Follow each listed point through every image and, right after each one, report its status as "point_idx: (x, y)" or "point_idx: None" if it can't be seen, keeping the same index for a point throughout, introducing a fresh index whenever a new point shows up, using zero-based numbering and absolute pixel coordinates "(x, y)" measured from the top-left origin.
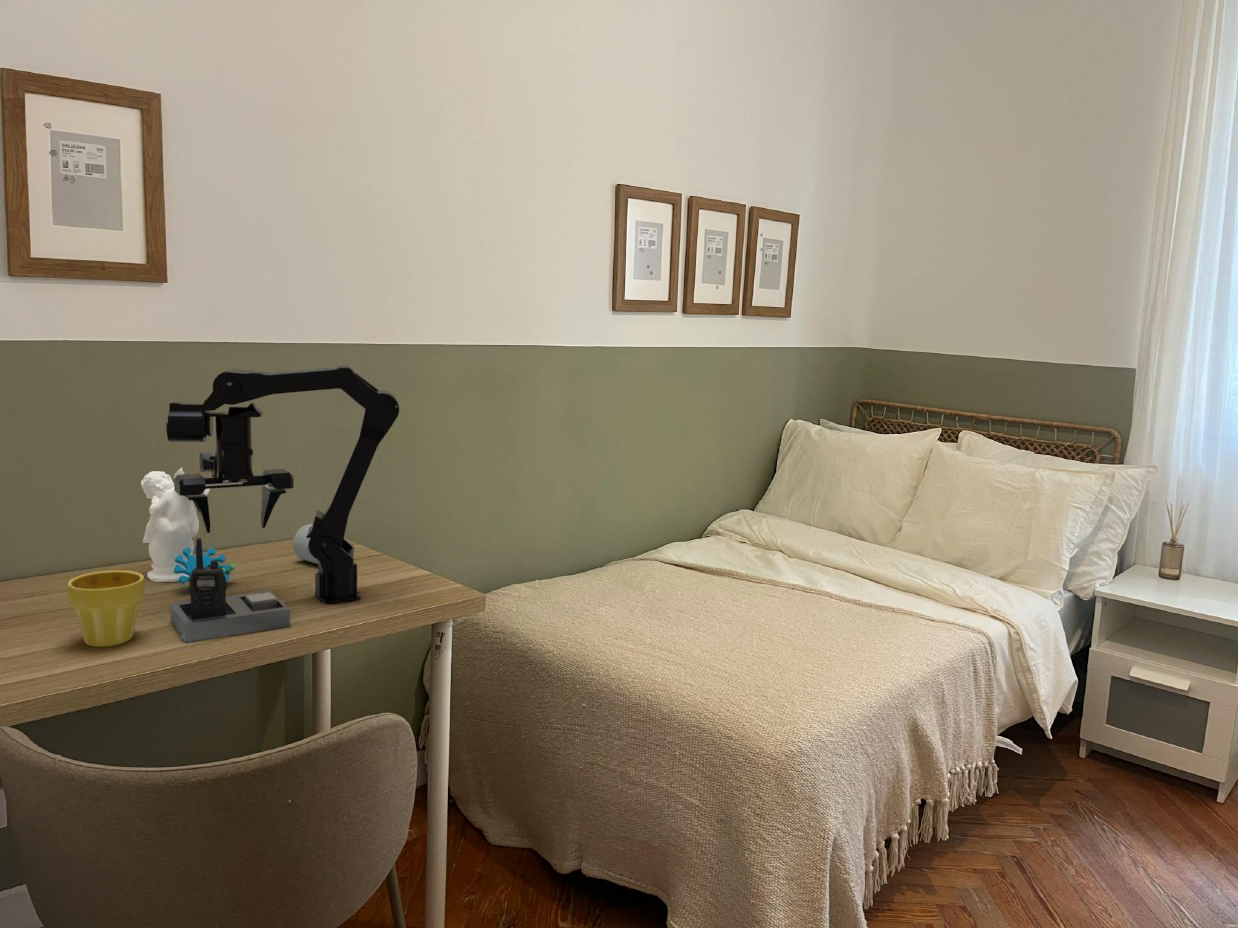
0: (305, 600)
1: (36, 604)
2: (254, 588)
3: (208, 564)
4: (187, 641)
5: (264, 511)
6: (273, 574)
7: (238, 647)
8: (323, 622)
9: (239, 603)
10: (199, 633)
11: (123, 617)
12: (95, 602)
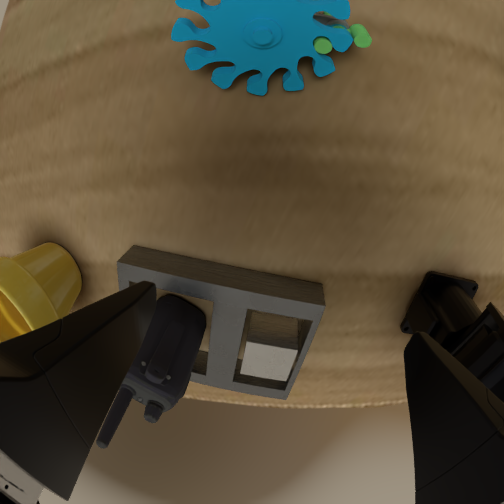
0: (395, 286)
1: (13, 40)
2: (372, 127)
3: (282, 24)
4: None
5: (422, 426)
6: (455, 57)
7: (195, 390)
8: (333, 385)
9: (230, 340)
10: None
11: None
12: None
